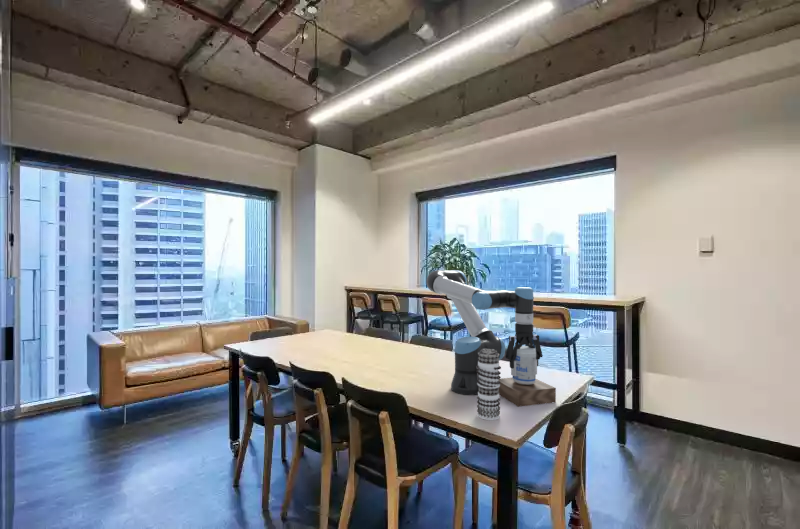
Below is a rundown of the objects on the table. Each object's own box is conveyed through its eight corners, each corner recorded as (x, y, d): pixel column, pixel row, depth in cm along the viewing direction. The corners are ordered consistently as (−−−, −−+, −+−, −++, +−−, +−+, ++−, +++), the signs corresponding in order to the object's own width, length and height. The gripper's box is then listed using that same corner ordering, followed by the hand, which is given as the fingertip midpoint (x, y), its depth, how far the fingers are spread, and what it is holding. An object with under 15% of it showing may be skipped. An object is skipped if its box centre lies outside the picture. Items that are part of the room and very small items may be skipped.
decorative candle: (495, 410, 151) (495, 346, 151) (505, 419, 141) (505, 352, 141) (472, 411, 149) (473, 347, 149) (481, 421, 140) (481, 353, 140)
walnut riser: (517, 406, 155) (517, 391, 155) (494, 392, 172) (494, 379, 172) (555, 402, 159) (555, 387, 160) (529, 388, 177) (529, 375, 177)
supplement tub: (510, 383, 164) (510, 348, 164) (514, 377, 172) (514, 344, 172) (534, 386, 159) (534, 351, 159) (537, 380, 168) (537, 346, 168)
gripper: (506, 325, 159) (506, 379, 159) (551, 323, 165) (551, 375, 165) (496, 322, 166) (496, 374, 166) (540, 320, 172) (540, 370, 172)
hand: (524, 374), depth 166 cm, fingers closed on supplement tub, 10 cm apart
